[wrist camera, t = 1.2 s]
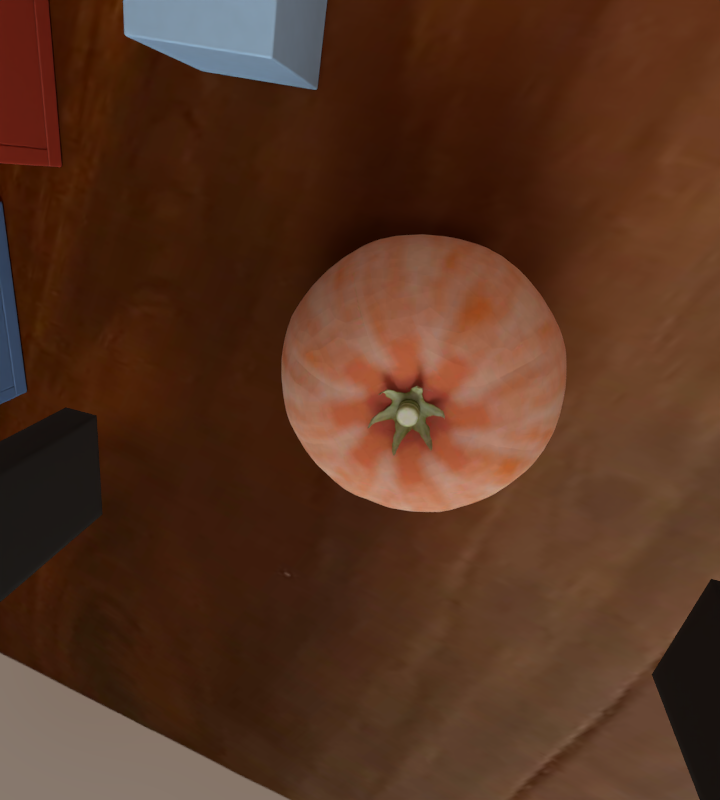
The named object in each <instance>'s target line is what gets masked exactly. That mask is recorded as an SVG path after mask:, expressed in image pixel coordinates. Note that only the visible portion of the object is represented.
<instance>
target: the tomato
mask: <svg viewBox="0 0 720 800" xmlns="http://www.w3.org/2000/svg"><path fill="white" fill-rule="evenodd" d="M566 371H567V367H566V349H565V345H564V340H563V337H562V334H561V331H560V328H559V326H558V324H557V322H556V320H555V318H554V316H553V314H552V312H551V310H550V309H549V307H548V306H547V304H546V302H545V301H544V299H543V298H542V296H541V294H540V293H539V292H538V291H537V289H536V288H535V287H534V286H533V285H532V283H531V282H530V281H529V280H528V278H527V277H526V276H525V275H524V274H523V273H522V272H521V271H520V270H519V269H518V268H516V267H515V266H514V265H513V264H511V263H510V262H509V261H508V260H506V259H505V258H504V257H503V256H501V255H499V254H497V253H496V252H494V251H492V250H490V249H488V248H486V247H484V246H481V245H479V244H475V243H472V242H468V241H465V240H461V239H457V238H451V237H446V236H436V235H425V234H420V235H401V236H393V237H388V238H384V239H379V240H376V241H374V242H371V243H368V244H366V245H364V246H362V247H360V248H359V249H357V250H355V251H354V252H352V253H350V254H349V255H347V256H345V257H344V258H343V259H341V260H340V261H339V262H337V263H336V264H335V265H334V266H332V267H331V268H330V269H329V270H327V271H326V272H325V273H324V274H323V275H322V276H321V277H320V278H319V280H318V281H317V282H316V283H315V284H314V285H313V286H312V287H311V288H310V290H309V291H308V292H307V293H306V295H305V296H304V297H303V299H302V300H301V302H300V303H299V305H298V307H297V308H296V310H295V312H294V313H293V315H292V317H291V320H290V323H289V326H288V329H287V332H286V336H285V340H284V346H283V353H282V386H283V396H284V401H285V407H286V412H287V415H288V418H289V421H290V423H291V425H292V427H293V429H294V431H295V433H296V435H297V436H298V438H299V440H300V441H301V443H302V445H303V447H304V448H305V450H306V451H307V452H308V454H309V455H310V456H311V457H312V459H313V460H314V461H315V463H316V464H317V465H318V466H319V467H320V468H321V469H322V470H323V471H324V472H326V473H327V474H328V475H329V476H330V477H331V478H332V479H333V480H334V481H335V482H337V483H338V484H339V485H340V486H341V487H343V488H344V489H346V490H347V491H349V492H351V493H353V494H354V495H357V496H360V497H362V498H365V499H368V500H371V501H373V502H376V503H378V504H381V505H383V506H386V507H389V508H394V509H400V510H407V511H418V512H441V511H447V510H452V509H455V508H458V507H462V506H465V505H468V504H472V503H475V502H478V501H480V500H482V499H485V498H487V497H489V496H491V495H493V494H495V493H497V492H498V491H500V490H501V489H503V488H504V487H506V486H507V485H508V484H510V483H511V482H513V481H514V480H515V479H516V478H518V477H519V476H520V475H522V474H523V473H524V472H525V471H526V470H527V469H528V468H529V467H530V466H531V465H532V464H533V463H534V462H535V461H536V459H537V458H538V457H539V456H540V454H541V453H542V452H543V450H544V449H545V447H546V445H547V443H548V441H549V439H550V438H551V436H552V434H553V432H554V430H555V427H556V424H557V421H558V418H559V416H560V412H561V408H562V403H563V399H564V393H565V386H566Z"/></svg>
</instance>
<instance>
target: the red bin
mask: <svg viewBox="0 0 720 800" xmlns="http://www.w3.org/2000/svg"><path fill="white" fill-rule="evenodd" d="M0 163H5V164H21V165H36V166H51V167H62V161H61V149H60V136H59V124H58V112H57V100H56V87H55V75H54V63H53V50H52V38H51V26H50V14H49V1H48V0H0Z"/></svg>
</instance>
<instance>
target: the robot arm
mask: <svg viewBox="0 0 720 800" xmlns="http://www.w3.org/2000/svg"><path fill="white" fill-rule="evenodd" d="M101 515H102V500H101V483H100V467H99V450H98V433H97V417H96V415H92V414H88V413H85V412H81V411H77V410H73V409H70V408H64V409H62V410H60V411H58V412H56V413H54V414H52V415H51V416H49V417H47V418H45V419H43V420H41V421H39V422H37V423H35V424H33V425H31V426H29V427H27V428H26V429H24V430H22V431H20V432H18V433H16V434H14V435H12V436H10V437H8V438H6V439H4V440H2V441H0V602H1V601H2V600H3V599H4V598H5V597H7V596H8V595H9V594H10V593H11V592H12V591H14V590H15V589H16V588H17V587H18V586H19V585H21V584H22V583H23V582H24V581H25V580H26V579H28V578H29V577H30V576H31V575H32V574H33V573H34V572H36V571H37V570H38V569H39V568H40V567H41V566H43V565H44V564H45V563H46V562H47V561H48V560H50V559H51V558H52V557H53V556H54V555H55V554H57V553H58V552H59V551H60V550H61V549H62V548H64V547H65V546H66V545H67V544H68V543H69V542H70V541H72V540H73V539H74V538H75V537H76V536H77V535H79V534H80V533H81V532H82V531H83V530H84V529H86V528H87V527H88V526H89V525H90V524H91V523H93V522H94V521H95V520H96V519H97V518H98V517H100V516H101ZM652 676H653V679H654V681H655V684H656V687H657V689H658V692H659V694H660V697H661V700H662V702H663V705H664V707H665V710H666V713H667V715H668V718H669V721H670V723H671V726H672V728H673V731H674V734H675V736H676V739H677V741H678V744H679V747H680V749H681V752H682V754H683V757H684V760H685V762H686V765H687V767H688V770H689V773H690V775H691V778H692V781H693V783H694V786H695V788H696V791H697V794H698V796H699V799H700V800H720V581H717V580H713V579H711V580H710V582H709V583H708V585H707V587H706V588H705V590H704V591H703V593H702V595H701V596H700V598H699V599H698V601H697V603H696V604H695V606H694V607H693V609H692V611H691V612H690V614H689V616H688V617H687V619H686V620H685V622H684V624H683V625H682V627H681V628H680V630H679V632H678V633H677V635H676V636H675V638H674V640H673V641H672V643H671V645H670V646H669V648H668V649H667V651H666V653H665V654H664V656H663V657H662V659H661V661H660V662H659V664H658V666H657V667H656V669H655V670H654V672H653V674H652Z"/></svg>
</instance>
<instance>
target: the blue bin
mask: <svg viewBox="0 0 720 800" xmlns="http://www.w3.org/2000/svg"><path fill="white" fill-rule="evenodd" d="M25 392H27V387H26V379H25V372H24V364H23V356H22V349H21V341H20V334H19V326H18V318H17V311H16V303H15V296H14V288H13V281H12V273H11V265H10V258H9V250H8V243H7V235H6V227H5V220H4V212H3V205H2V202H0V404H2V403H4V402H6V401H8V400H10V399H13V398H15V397H16V396H19V395H21V394H23V393H25Z"/></svg>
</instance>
